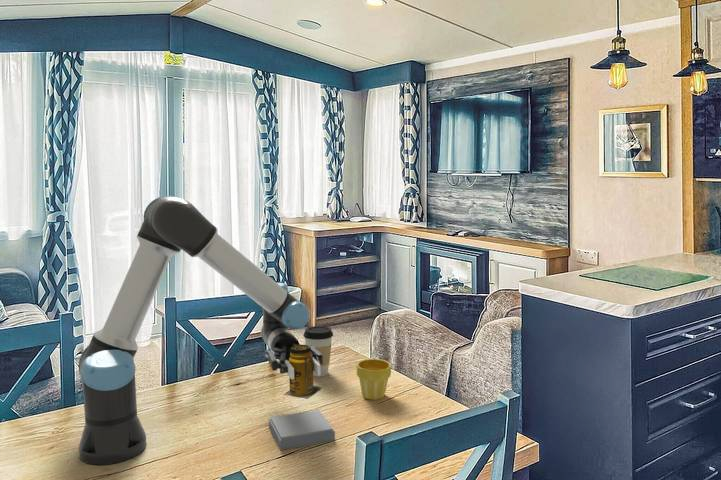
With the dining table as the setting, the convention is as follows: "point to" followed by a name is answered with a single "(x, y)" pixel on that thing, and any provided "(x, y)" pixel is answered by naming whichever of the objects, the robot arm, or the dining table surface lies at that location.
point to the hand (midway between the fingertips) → (305, 372)
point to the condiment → (302, 372)
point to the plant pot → (373, 377)
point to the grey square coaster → (300, 429)
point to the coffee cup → (320, 344)
